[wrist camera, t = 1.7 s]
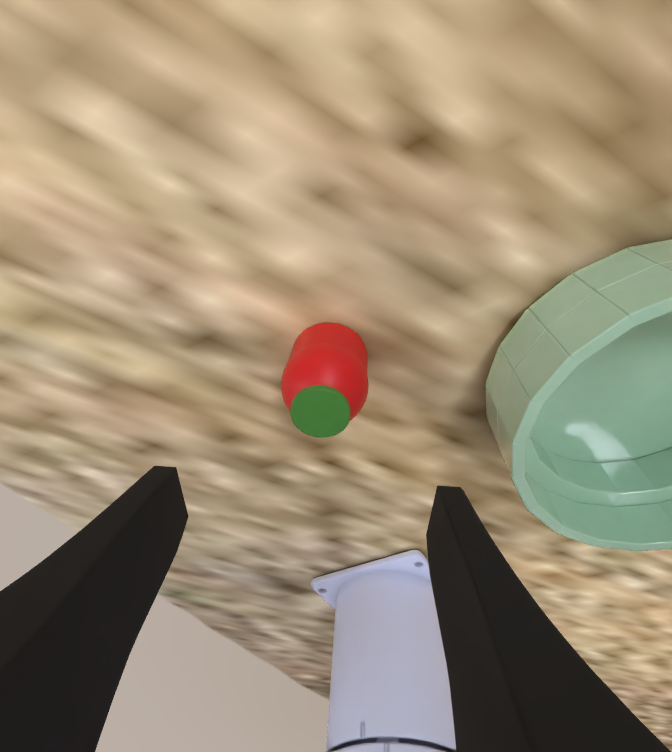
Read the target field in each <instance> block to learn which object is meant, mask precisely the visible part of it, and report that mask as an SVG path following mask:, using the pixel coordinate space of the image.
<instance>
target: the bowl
mask: <svg viewBox="0 0 672 752" xmlns="http://www.w3.org/2000/svg"><path fill="white" fill-rule="evenodd" d="M486 411H487V419H488V422H489V424H490V427H491V429H492V432H493V434H494V437H495V439H496V442H497V444H498V446H499V449H500V452H501V454H502V457H503V459H504V462H505V464H506V467H507V469H508V472H509V474H510V477H511V479H512V481H513V483H514V485H515V487H516V489H517V491H518V493H519V495H520V497H521V499H522V501H523V503H524V505H525V507H526V509H527V510H528V511H529V512H530V513H532V514H533V515H534V516H535V517H537V518H538V519H539V520H540V521H541V522H543V523H544V524H545V525H546V526H548V527H549V528H550V529H551V530H553V531H554V532H556V533H558V534H561V535H564V536H566V537H569V538H572V539H574V540H577V541H580V542H582V543H585V544H588V545H590V546H591V545H592V546H596V547H604V548H613V549H621V550H629V551H648V550H662V549H672V239H670V240H665V241H659V242H654V243H648V244H643V245H638V246H632V247H628V248H627V249H623V250H621V251H619V252H616V253H614V254H612V255H610V256H608V257H605V258H603V259H601V260H599V261H597V262H595V263H592V264H590V265H588V266H586V267H584V268H582V269H579V270H577V271H575V272H573V274H570V275H569V276H567V277H566V278H565V279H563V280H562V281H561V282H560V283H558V284H557V285H556V286H555V287H553V288H552V289H551V290H550V291H548V292H547V293H546V294H544V295H543V296H542V297H541V298H539V299H538V300H537V301H536V302H534V303H533V304H532V305H531V306H529V308H527V309H526V311H525V312H524V313H523V315H522V316H521V317H520V319H519V320H518V321H517V323H516V324H515V325H514V327H513V328H512V329H511V331H510V332H509V333H508V335H507V336H506V337H505V339H504V340H503V341H502V343H501V344H500V346H499V347H498V350H497V352H496V355H495V358H494V361H493V364H492V367H491V370H490V372H489V375H488V378H487V381H486Z"/></svg>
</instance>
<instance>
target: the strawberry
mask: <svg viewBox="0 0 672 752" xmlns="http://www.w3.org/2000/svg"><path fill="white" fill-rule="evenodd" d="M281 390H282V395H283V399H284V402H285V404H286V406H287V408H288V409H289V411H290V415H291V418H292V421H293V423H294V424H295V425H296V427H297V428H298V429H300V430H301V431H302V432H304V433H306V434H308V435H311V436H314V437H330V436H334V435H336V434H338V433H340V432H341V431H343V430H344V429H345V427H346V426H347V425H348V423H349V421H350V420H352V419H353V418H354V417H355V416H356V415H357V414H358V413H359V411H360V410H361V408H362V407H363V405H364V403H365V401H366V398H367V393H368V377H367V351H366V347H365V345H364V343H363V341H362V340H361V338H360V337H359V336H358V335H357V334H356V333H355V332H354V331H352V330H351V329H349V328H347V327H345V326H343V325H340V324H336V323H321V324H317V325H313V326H311V327H309V328H307V329H306V330H304V331H303V332H302V333H301V334H300V335H299V336H298V338H297V339H296V341H295V343H294V346H293V349H292V352H291V355H290V358H289V361H288V363H287V365H286V367H285V369H284V372H283V375H282V381H281Z"/></svg>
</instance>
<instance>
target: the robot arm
mask: <svg viewBox="0 0 672 752" xmlns="http://www.w3.org/2000/svg"><path fill="white" fill-rule="evenodd" d="M187 519H188V513H187V509H186V505H185V501H184V497H183V493H182V489H181V485H180V481H179V477H178V473H177V469H176V467H163V466H154V467H153V468H152V469H151V470H149V471H148V472H147V473H146V474H145V475H144V476H142V477H141V478H140V479H139V480H138V481H137V482H136V483H135V484H133V485H132V486H131V487H130V488H129V489H128V490H127V491H126V492H124V493H123V494H122V495H121V496H120V497H119V498H118V499H117V500H115V501H114V502H113V503H112V504H111V505H110V506H109V507H108V508H106V509H105V510H104V511H103V512H102V513H101V514H99V515H98V516H97V517H96V518H95V519H94V520H92V521H91V522H90V523H89V524H88V525H87V526H85V527H84V528H83V529H82V530H81V531H79V532H78V533H77V534H76V535H75V536H73V537H72V538H71V539H70V540H68V541H67V542H66V543H65V544H63V545H62V546H61V547H60V548H58V549H57V550H56V551H55V552H53V553H52V554H51V555H50V556H48V557H47V558H46V559H44V560H43V561H42V562H41V563H39V564H38V565H37V566H35V567H34V568H33V569H31V570H30V571H29V572H27V573H26V574H24V575H23V576H22V577H20V578H19V579H18V580H16V581H14V582H13V583H12V584H10V585H9V586H8V587H6V588H5V589H3V590H2V591H0V752H95V750H96V747H97V744H98V741H99V738H100V735H101V732H102V729H103V726H104V723H105V721H106V718H107V715H108V712H109V709H110V706H111V703H112V700H113V697H114V695H115V692H116V689H117V687H118V684H119V681H120V679H121V676H122V673H123V670H124V668H125V665H126V662H127V660H128V657H129V654H130V652H131V650H132V647H133V645H134V643H135V640H136V638H137V636H138V633H139V631H140V629H141V627H142V625H143V623H144V621H145V619H146V616H147V615H148V612H149V610H150V608H151V606H152V604H153V602H154V600H155V598H156V596H157V593H158V591H159V589H160V587H161V585H162V583H163V581H164V579H165V576H166V574H167V572H168V570H169V568H170V566H171V563H172V561H173V559H174V557H175V555H176V552H177V549H178V547H179V544H180V541H181V538H182V535H183V532H184V529H185V525H186V522H187ZM426 536H427V550H428V560H427V559H426V557H425V556H424V555H423V553H422V552H420V551H418V550H410V551H407V552H403V553H400V554H396V555H393V556H389V557H386V558H382V559H379V560H375V561H372V562H368V563H365V564H362V565H358V566H355V567H351V568H348V569H344V570H341V571H337V572H334V573H330V574H327V575H323V576H320V577H316V578H314V579H313V580H312V584H311V586H312V588H313V589H314V590H315V591H316V592H317V593H318V594H319V595H320V596H321V597H322V598H323V599H324V600H325V601H326V602H327V603H328V604H329V605H330V606H331V607H332V608H333V609H334V610H335V611H336V612H335V627H334V642H333V656H332V671H331V686H330V701H329V717H328V730H327V746H326V752H671V751H670V750H669V749H668V748H667V747H666V746H665V745H664V744H663V743H662V742H661V741H660V740H659V739H658V738H657V737H656V736H655V735H654V734H653V733H652V732H651V731H650V730H649V729H648V728H647V727H646V726H645V725H644V724H643V723H642V722H641V721H640V720H639V719H638V718H637V717H636V716H635V715H634V714H633V713H632V712H631V711H630V710H629V709H628V708H627V707H626V706H625V704H624V703H623V702H622V701H621V700H620V699H619V698H618V697H617V696H616V695H615V694H614V693H613V692H612V691H611V690H610V689H609V688H608V686H607V685H606V684H605V683H604V682H603V681H602V680H601V679H600V678H599V677H598V676H597V675H596V674H595V673H594V672H593V670H592V669H591V668H590V667H589V666H588V665H587V664H586V662H585V661H584V660H583V659H582V658H581V657H580V656H579V654H578V653H577V652H576V651H575V650H574V649H573V647H572V646H571V645H570V644H569V643H568V642H567V640H566V639H565V638H564V637H563V636H562V634H561V633H560V632H559V631H558V629H557V628H556V627H555V626H554V625H553V623H552V622H551V621H550V620H549V618H548V617H547V616H546V615H545V613H544V612H543V611H542V609H541V608H540V607H539V606H538V604H537V603H536V602H535V600H534V599H533V598H532V596H531V595H530V594H529V592H528V591H527V589H526V588H525V587H524V585H523V584H522V583H521V581H520V580H519V578H518V577H517V576H516V574H515V573H514V571H513V570H512V568H511V567H510V565H509V564H508V563H507V561H506V560H505V558H504V557H503V555H502V554H501V552H500V551H499V549H498V548H497V546H496V545H495V543H494V541H493V540H492V538H491V537H490V535H489V534H488V532H487V530H486V529H485V527H484V525H483V524H482V522H481V520H480V519H479V517H478V515H477V514H476V512H475V510H474V509H473V507H472V505H471V503H470V502H469V500H468V498H467V496H466V494H465V493H464V491H463V490H462V489H461V487H450V486H437V490H436V494H435V499H434V503H433V507H432V512H431V516H430V521H429V525H428V530H427V534H426Z"/></svg>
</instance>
